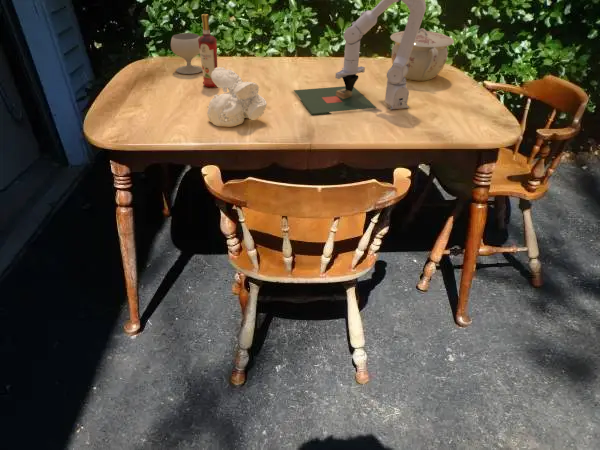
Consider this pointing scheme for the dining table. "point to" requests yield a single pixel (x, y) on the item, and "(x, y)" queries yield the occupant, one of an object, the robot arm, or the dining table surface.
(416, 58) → the chamber pot
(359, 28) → the robot arm
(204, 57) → the liquor
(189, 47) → the chalice
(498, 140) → the dining table surface
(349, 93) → the letter tile
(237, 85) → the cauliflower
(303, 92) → the game board
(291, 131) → the dining table surface
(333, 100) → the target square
